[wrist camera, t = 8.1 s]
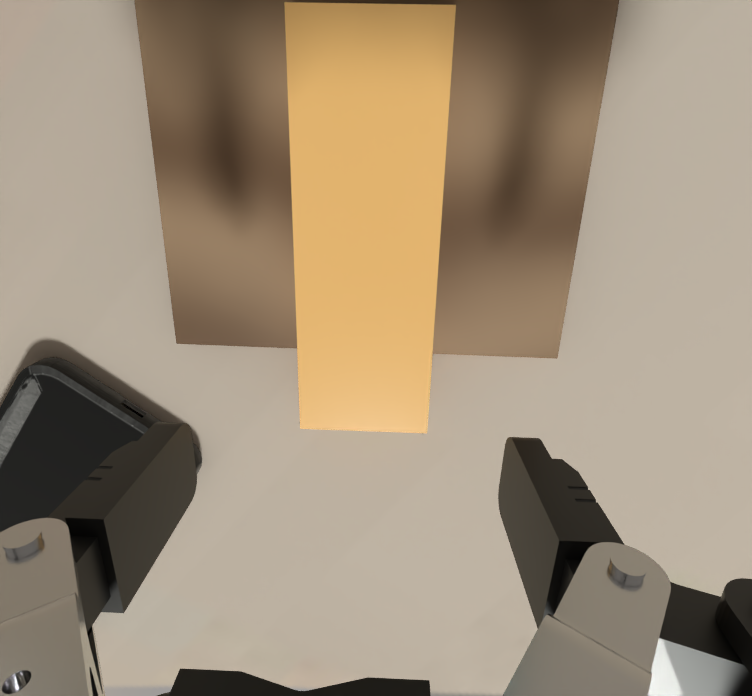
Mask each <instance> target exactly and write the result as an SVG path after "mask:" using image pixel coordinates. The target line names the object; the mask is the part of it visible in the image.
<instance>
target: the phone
mask: <svg viewBox="0 0 752 696" xmlns="http://www.w3.org/2000/svg"><path fill="white" fill-rule="evenodd" d="M123 403H124V404H126V405H127V406H129V407H130V408H132V409H133V410H135V411H137V412H138V413H140V414H141V415H143V417H142V418H141V417H140V416H138V415H137V414H135V413H134V412H132V411H131V410H129V409H127V408H126V407H124V406H123V405H121V404H123ZM156 422H161V421H160V420H158V419H157V418H155V417H154V416H152V415H150V414H149V413H147V412H146V411H144V410H143V409H141V408H140V407H138V406H137V405H135V404H133V403H132V402H130V401H129V400H127V399H126V398H124V397H123V396H121V395H120V394H118V393H116V392H115V391H113V390H112V389H110V388H109V387H107V386H106V385H104V384H103V383H101V382H99V381H98V380H96V379H95V378H93V377H92V376H90V375H89V374H87V373H86V372H84V371H82V370H81V369H79V368H78V367H76V366H75V365H73V364H72V363H70V362H67V361H65V360H63V359H59V358H54V357H53V358H45V359H43V360H41V361H38V362H37V363H35V364H33V365H31V366H29V367H27V368H25V369H23V370H22V372H21V373H20V374H19V375H18V377H17V379H16V380H15V382H14V384H13V386H12V388H11V389H10V391H9V393H8V395H7V396H6V398H5V400H4V402H3V404H2V405H1V407H0V532H2V531H4V530H6V529H8V528H10V527H12V526H14V525H17V524H19V523H22V522H26V521H29V520H34V519H39V518H47V517H48V516H49V515H50V514H51V513H52V512H53V511H54V510H55V509H56V508H57V507H58V506H59V505H60V504H61V503H62V502H63V501H64V500H65V499H66V498H67V497H68V496H69V495H70V494H71V493H72V492H73V491H74V490H75V489H76V488H77V487H78V486H79V485H80V484H81V483H82V482H83V481H84V480H87V477H88V476H89V475H90V474H91V473H92V472H93V471H94V470H95V469H98V468H99V465H100V464H101V463H102V462H103V461H104V460H105V459H106V458H107V457H108V456H109V455H110V454H111V453H112V452H114V451H115V450H117V449H119V448H121V447H122V446H124V445H126V444H128V443H129V442H131V441H138V440H139V439H140V438H141V437H142V436H143V435H144V434H145V432H146V431H147V430H148V429H149V428H150V427H151V426H152V425H153V424H154V423H156ZM193 449H194V457H195V465H196V473H198V472H199V470H200V468H201V464H202V458H201V454H200V451H199V450H198V448H197V447H196V445H195V444H194V443H193Z"/></svg>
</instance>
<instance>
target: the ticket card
mask: <svg viewBox="0 0 752 696" xmlns="http://www.w3.org/2000/svg"><path fill="white" fill-rule="evenodd" d="M284 5H285V32H286V59H287V86H288V113H289V140H290V167H291V194H292V220H293V247H294V274H295V301H296V328H297V355H298V382H299V409H300V429H322V430H350V431H378V432H406V433H427V427H428V412H429V397H430V382H431V368H432V353H433V338H434V323H435V308H436V294H437V279H438V264H439V249H440V234H441V220H442V205H443V190H444V175H445V160H446V146H447V131H448V116H449V101H450V86H451V71H452V57H453V42H454V27H455V12H456V5H432V4H366V3H300V2H284Z"/></svg>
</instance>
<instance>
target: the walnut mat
mask: <svg viewBox="0 0 752 696" xmlns="http://www.w3.org/2000/svg"><path fill="white" fill-rule="evenodd" d="M284 2H300V3H366V4H432V5H456V12H455V27H454V42H453V57H452V71H451V86H450V101H449V116H448V131H447V146H446V160H445V175H444V190H443V205H442V220H441V234H440V249H439V264H438V279H437V294H436V308H435V323H434V338H433V353H432V354H457V355H483V356H508V357H534V358H557V357H558V351H559V346H560V340H561V334H562V328H563V322H564V317H565V311H566V305H567V299H568V293H569V288H570V282H571V276H572V270H573V265H574V259H575V253H576V247H577V241H578V236H579V230H580V224H581V218H582V212H583V207H584V201H585V195H586V189H587V184H588V178H589V172H590V166H591V160H592V155H593V149H594V143H595V137H596V132H597V126H598V120H599V114H600V108H601V103H602V97H603V91H604V85H605V79H606V74H607V68H608V62H609V56H610V51H611V45H612V39H613V33H614V27H615V22H616V16H617V10H618V4H619V0H135V8H136V16H137V25H138V33H139V41H140V49H141V57H142V65H143V74H144V82H145V90H146V98H147V106H148V114H149V123H150V131H151V139H152V147H153V155H154V164H155V172H156V180H157V188H158V196H159V204H160V213H161V221H162V229H163V237H164V245H165V253H166V262H167V270H168V278H169V286H170V294H171V303H172V311H173V319H174V327H175V335H176V343H177V344H200V345H226V346H251V347H277V348H297V328H296V301H295V274H294V247H293V220H292V194H291V167H290V140H289V113H288V86H287V59H286V32H285V5H284Z"/></svg>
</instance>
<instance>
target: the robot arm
mask: <svg viewBox="0 0 752 696" xmlns="http://www.w3.org/2000/svg"><path fill="white" fill-rule="evenodd" d="M196 484H197V473H196V465H195V457H194V449H193V441H192V433H191V429H190V426H189V425H188V424H186V423H165V422H156V423H154V424H153V425H152V426H151V427H150V428H149V429H148V430H147V431H146V432H145V434H144V435H143V436H142V437H141V438H140V439H139V440H138V441H131V442H129V443H128V444H126V445H124V446H122V447H121V448H119V449H117V450H115V451H114V452H112V453H111V454H110V455H109V456H108V457H107V458H106V459H105V460H104V461H103V462H102V463H101V464H100V465H99V468H98V469H95V470H94V471H93V472H92V473H91V474H90V475H89V476H88V477H87V480H84V481H83V482H82V483H81V484H80V485H79V486H78V487H77V488H76V489H75V490H74V491H73V492H72V493H71V494H70V495H69V496H68V497H67V498H66V499H65V500H64V501H63V502H62V503H61V504H60V505H59V506H58V507H57V508H56V509H55V510H54V511H53V512H52V513H51V514H50V515H49V516H48V517H47V518H39V519H34V520H29V521H26V522H22V523H19V524H17V525H14V526H12V527H10V528H8V529H6V530H4V531H2V532H0V696H105V691H104V685H103V679H102V674H101V668H100V662H99V656H98V650H97V644H96V638H95V633H94V629H93V623H94V622H95V620H96V619H97V617H98V615H99V614H100V612H113V613H124V612H125V610H126V609H127V607H128V605H129V604H130V602H131V600H132V599H133V597H134V595H135V594H136V592H137V590H138V589H139V587H140V585H141V584H142V582H143V581H144V579H145V577H146V576H147V574H148V572H149V571H150V569H151V567H152V566H153V564H154V562H155V561H156V559H157V557H158V556H159V554H160V552H161V551H162V549H163V548H164V546H165V544H166V543H167V541H168V539H169V538H170V536H171V534H172V533H173V531H174V529H175V528H176V526H177V524H178V523H179V521H180V519H181V518H182V516H183V515H184V513H185V511H186V510H187V508H188V506H189V505H190V503H191V501H192V499H193V497H194V494H195V490H196ZM498 499H499V510H500V514H501V518H502V521H503V524H504V527H505V530H506V533H507V536H508V539H509V542H510V545H511V548H512V551H513V554H514V557H515V560H516V563H517V567H518V570H519V573H520V576H521V579H522V582H523V585H524V588H525V591H526V594H527V597H528V600H529V603H530V606H531V609H532V612H533V615H534V618H535V621H536V624H537V628H538V630H537V632H536V634H535V636H534V638H533V639H532V641H531V643H530V645H529V647H528V649H527V651H526V653H525V655H524V656H523V658H522V660H521V662H520V664H519V666H518V668H517V670H516V672H515V674H514V675H513V677H512V679H511V681H510V683H509V685H508V687H507V689H506V691H505V692H504V694H503V696H752V579H735V580H732V581H730V582H729V583H727V585H726V586H725V588H724V591H723V593H722V596H721V597H719V596H715V595H712V594H708V593H705V592H701V591H698V590H694V589H691V588H687V587H684V586H680V585H677V584H674V583H672V582H670V580H669V578H668V576H667V574H666V573H665V571H664V570H663V569H662V568H661V567H660V565H658V564H657V563H656V562H655V561H654V560H653V559H651V558H650V557H649V556H647V555H646V554H644V553H642V552H641V551H639V550H637V549H635V548H632V547H629V546H627V545H624V543H623V542H622V540H621V538H620V537H619V535H618V534H617V532H616V531H615V529H614V527H613V526H612V524H611V523H610V521H609V520H608V518H607V516H606V515H605V513H604V512H603V510H602V509H601V507H600V505H599V504H598V503H596V499H595V498H594V496H593V494H592V493H591V491H590V490H588V487H587V485H586V483H585V482H584V480H583V479H582V477H581V476H580V474H579V472H577V471H576V470H575V469H574V468H572V467H571V466H570V465H568V464H567V463H566V462H565V461H563V460H562V459H552V458H551V457H550V455H549V453H548V451H547V450H546V448H545V446H544V444H543V443H542V441H541V440H540V439H539V438H519V437H509V438H508V439H507V441H506V444H505V450H504V457H503V464H502V471H501V477H500V484H499V494H498ZM158 696H430V684H429V681H428V680H407V679H386V678H364V679H359V680H355V681H350V682H346V683H341V684H337V685H332V686H327V687H323V688H318V689H314V690H309V691H297V690H293V689H290V688H287V687H284V686H282V685H279V684H276V683H273V682H270V681H267V680H264V679H261V678H258V677H255V676H252V675H250V674H247V673H244V672H240V671H219V670H198V669H180V670H179V673H178V675H177V677H176V680H175V682H174V685H173V687H172V689H171V692H168V693H164V694H161V695H158Z"/></svg>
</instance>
